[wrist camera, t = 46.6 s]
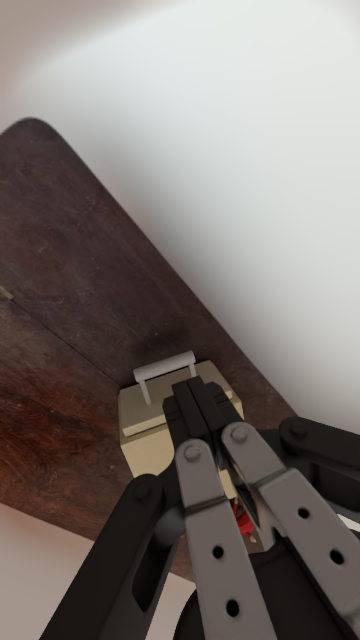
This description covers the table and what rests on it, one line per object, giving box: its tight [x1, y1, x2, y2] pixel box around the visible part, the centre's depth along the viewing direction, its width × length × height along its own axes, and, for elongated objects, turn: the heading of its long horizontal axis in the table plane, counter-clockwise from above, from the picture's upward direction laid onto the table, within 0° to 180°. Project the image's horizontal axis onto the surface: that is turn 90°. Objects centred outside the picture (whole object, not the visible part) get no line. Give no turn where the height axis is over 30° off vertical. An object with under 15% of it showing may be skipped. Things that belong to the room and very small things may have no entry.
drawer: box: [120, 351, 233, 437], centre depth 35 cm, size 19×13×7 cm, turn 13°
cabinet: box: [118, 363, 244, 499], centre depth 37 cm, size 16×14×9 cm
